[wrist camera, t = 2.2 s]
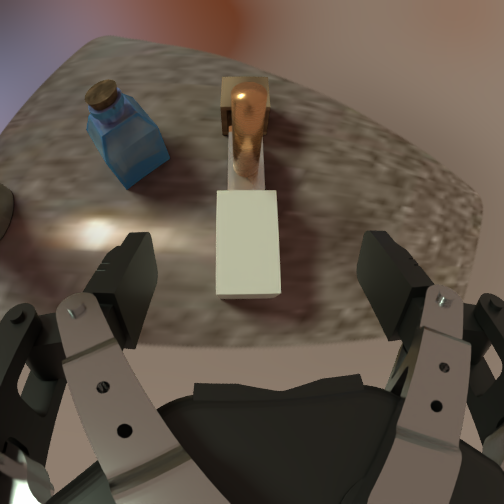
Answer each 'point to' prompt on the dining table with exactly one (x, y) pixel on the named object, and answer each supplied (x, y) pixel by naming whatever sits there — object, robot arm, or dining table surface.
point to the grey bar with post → (247, 137)
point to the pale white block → (247, 245)
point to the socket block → (226, 110)
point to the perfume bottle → (123, 133)
